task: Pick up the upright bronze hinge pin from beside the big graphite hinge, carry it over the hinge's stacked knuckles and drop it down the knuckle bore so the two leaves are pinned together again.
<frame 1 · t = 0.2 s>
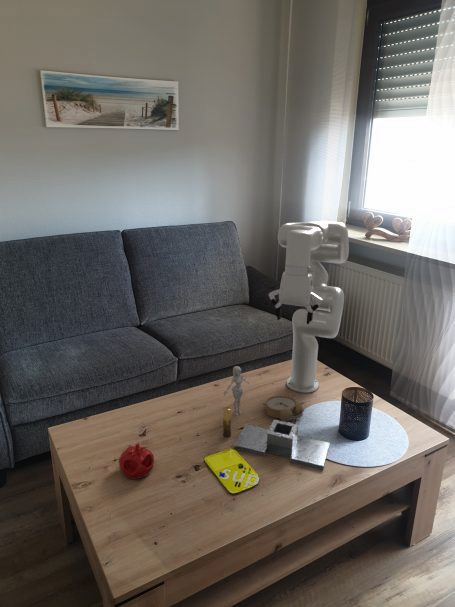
hand: (293, 320, 156), 36 cm above the table, tool pointing down, fingers open, 9 cm apart
pomegranate: (137, 471, 141), on the table
hinge frame: (281, 447, 152), on the table
human figurine: (236, 412, 171), on the table
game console: (232, 473, 142), on the table
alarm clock: (284, 414, 172), on the table
hinge pin: (226, 435, 158), on the table
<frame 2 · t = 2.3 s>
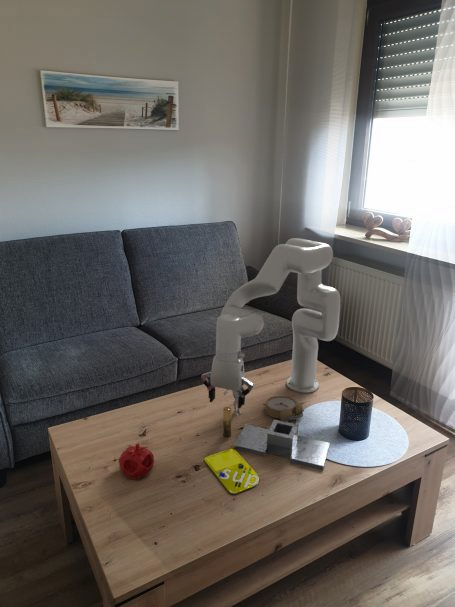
hand: (226, 403, 154), 12 cm above the table, tool pointing down, fingers open, 9 cm apart
nothing on the table moved.
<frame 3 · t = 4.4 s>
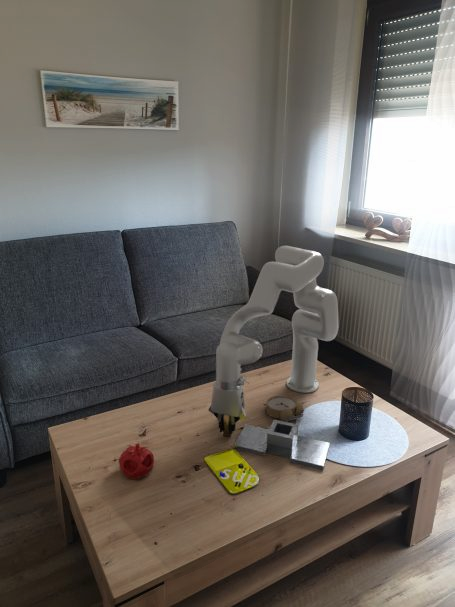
hand: (226, 430, 158), 2 cm above the table, tool pointing down, fingers closed on hinge pin, 2 cm apart
hinge pin: (226, 435, 158), on the table, touching gripper
everything else where it was.
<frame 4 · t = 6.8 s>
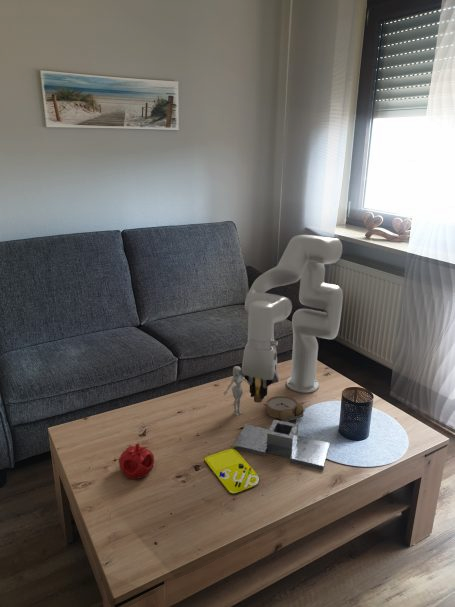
hand: (258, 395, 149), 17 cm above the table, tool pointing down, fingers closed on hinge pin, 2 cm apart
hinge pin: (257, 400, 150), point 15 cm above the table, touching gripper
everything else where it was.
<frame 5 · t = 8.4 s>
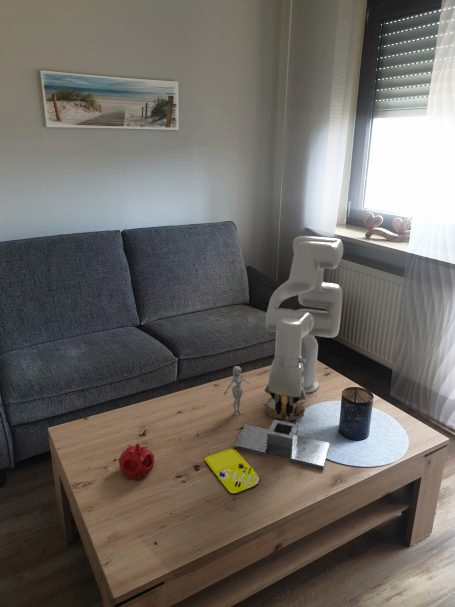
hand: (284, 412, 148), 13 cm above the table, tool pointing down, fingers closed on hinge pin, 2 cm apart
hinge pin: (283, 417, 148), point 11 cm above the table, touching gripper
everything else where it was.
when the fingers open (10 cm above the table, at t = 9.6 s): hinge pin drops 8 cm, resting in hinge frame.
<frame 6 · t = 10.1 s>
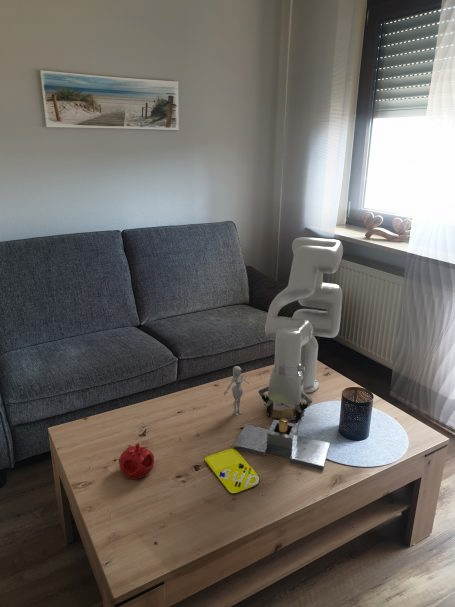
hand: (283, 418, 149), 11 cm above the table, tool pointing down, fingers open, 8 cm apart
hinge pin: (281, 447, 152), resting in hinge frame
everything else where it was.
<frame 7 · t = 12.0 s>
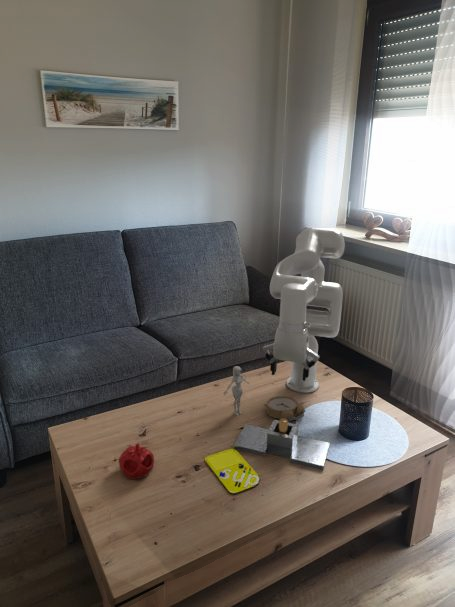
hand: (289, 375, 148), 23 cm above the table, tool pointing down, fingers open, 9 cm apart
nothing on the table moved.
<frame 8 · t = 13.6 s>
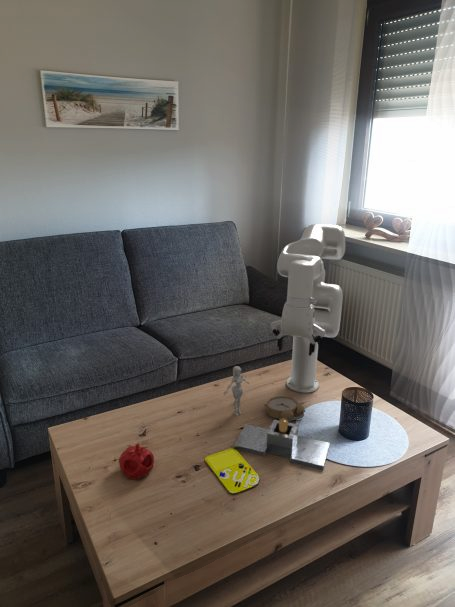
hand: (295, 351, 153), 28 cm above the table, tool pointing down, fingers open, 9 cm apart
nothing on the table moved.
at the end: hinge pin 0.0 cm off-centre on the hinge frame, point 0.0 cm above the hinge frame's base; hinge pin tilted 0°; the gripper is holding nothing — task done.
